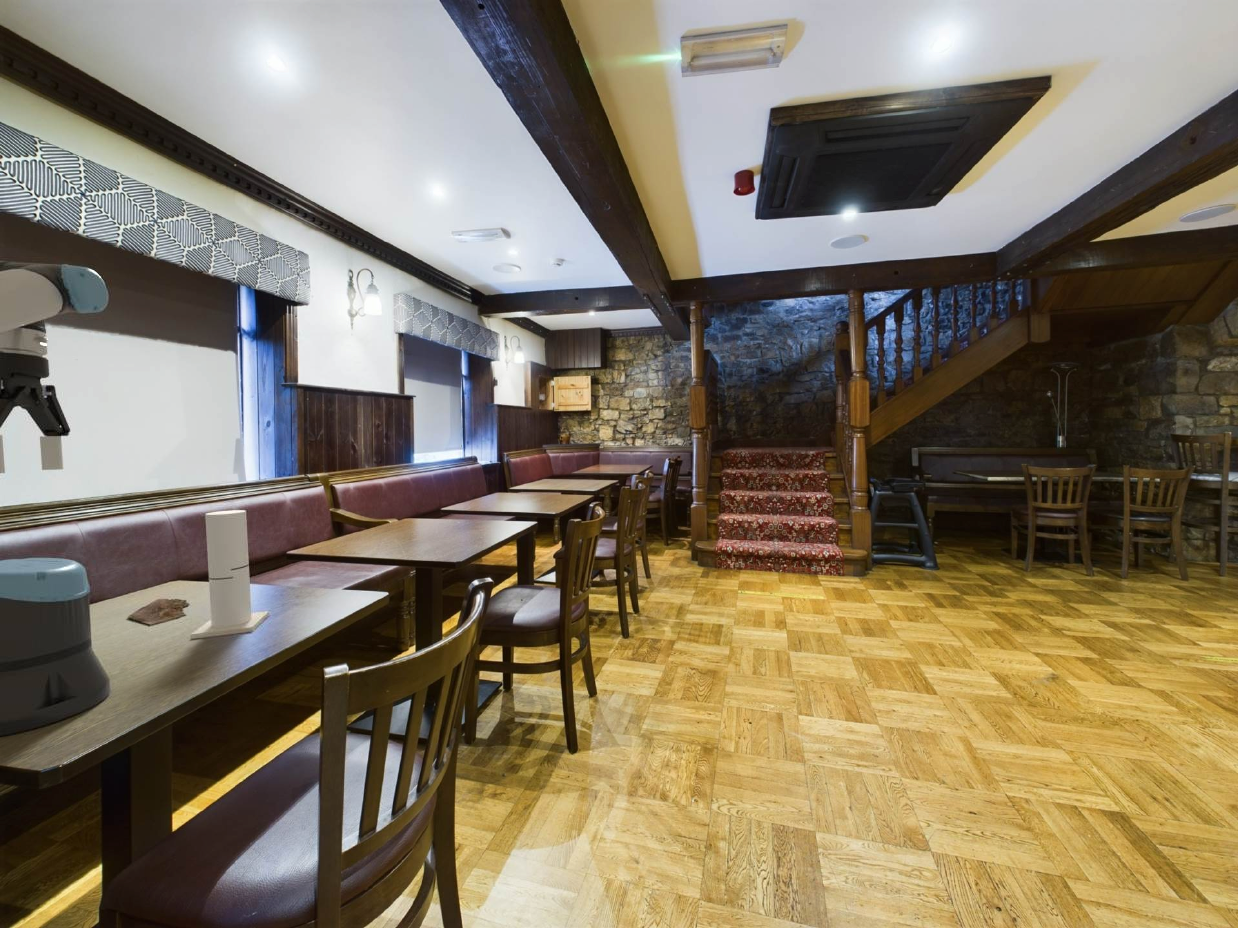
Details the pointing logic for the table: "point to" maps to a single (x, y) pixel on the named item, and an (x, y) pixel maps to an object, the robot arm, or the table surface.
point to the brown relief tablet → (160, 611)
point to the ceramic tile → (242, 628)
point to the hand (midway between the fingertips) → (24, 471)
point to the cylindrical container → (228, 568)
